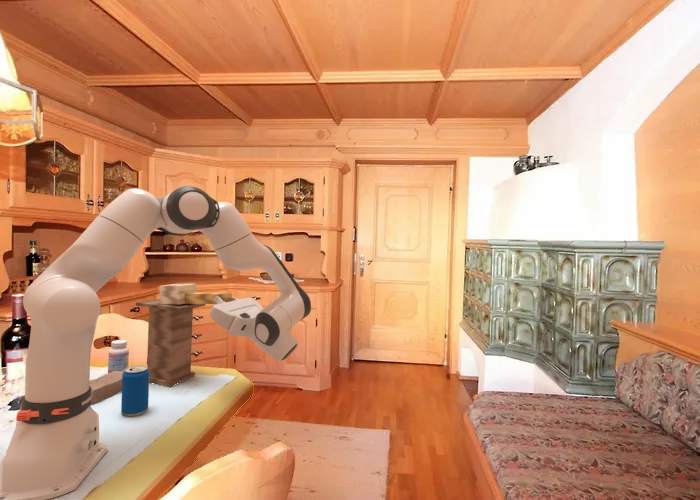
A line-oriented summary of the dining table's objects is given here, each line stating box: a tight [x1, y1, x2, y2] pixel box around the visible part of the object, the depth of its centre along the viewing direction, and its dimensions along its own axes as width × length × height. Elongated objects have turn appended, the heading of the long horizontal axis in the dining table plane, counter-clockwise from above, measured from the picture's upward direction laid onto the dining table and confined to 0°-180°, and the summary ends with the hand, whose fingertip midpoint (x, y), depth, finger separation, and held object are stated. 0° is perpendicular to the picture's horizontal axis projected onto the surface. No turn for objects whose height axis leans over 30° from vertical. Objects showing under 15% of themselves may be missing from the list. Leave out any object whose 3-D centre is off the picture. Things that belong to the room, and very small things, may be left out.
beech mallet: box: [159, 283, 233, 305], centre depth 127 cm, size 24×8×6 cm, turn 71°
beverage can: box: [120, 365, 150, 417], centre depth 106 cm, size 6×6×12 cm
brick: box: [89, 371, 124, 405], centre depth 118 cm, size 17×8×5 cm, turn 168°
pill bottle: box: [107, 339, 130, 374], centre depth 134 cm, size 6×6×11 cm
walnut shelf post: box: [135, 298, 206, 388], centre depth 131 cm, size 18×12×26 cm, turn 71°
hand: (220, 296), depth 124 cm, fingers closed on beech mallet, 3 cm apart
